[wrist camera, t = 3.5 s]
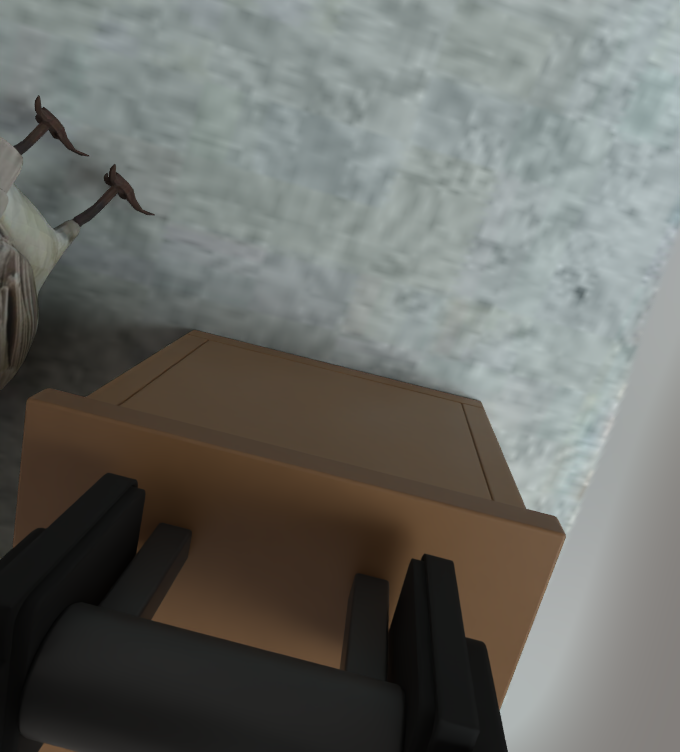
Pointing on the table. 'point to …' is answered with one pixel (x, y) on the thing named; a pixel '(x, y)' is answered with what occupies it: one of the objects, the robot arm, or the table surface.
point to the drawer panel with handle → (254, 589)
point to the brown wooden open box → (320, 412)
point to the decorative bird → (34, 243)
